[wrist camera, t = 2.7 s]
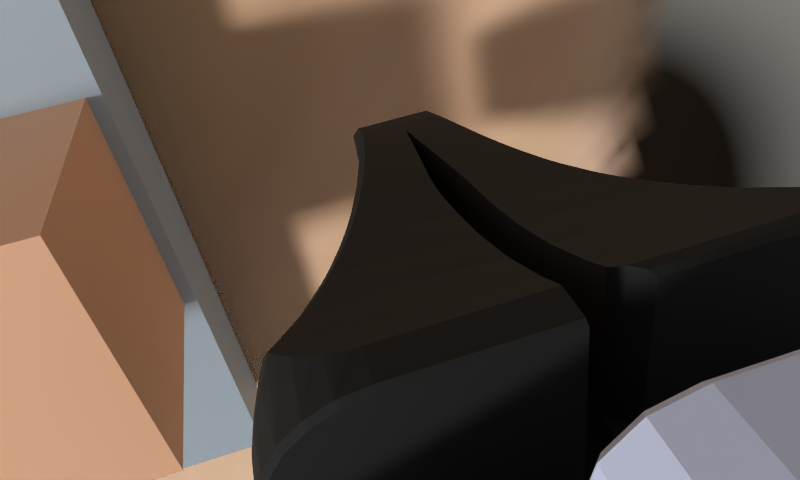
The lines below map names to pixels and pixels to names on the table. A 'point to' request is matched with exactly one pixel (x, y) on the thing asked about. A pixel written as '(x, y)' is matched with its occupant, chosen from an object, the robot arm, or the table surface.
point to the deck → (141, 168)
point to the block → (82, 312)
